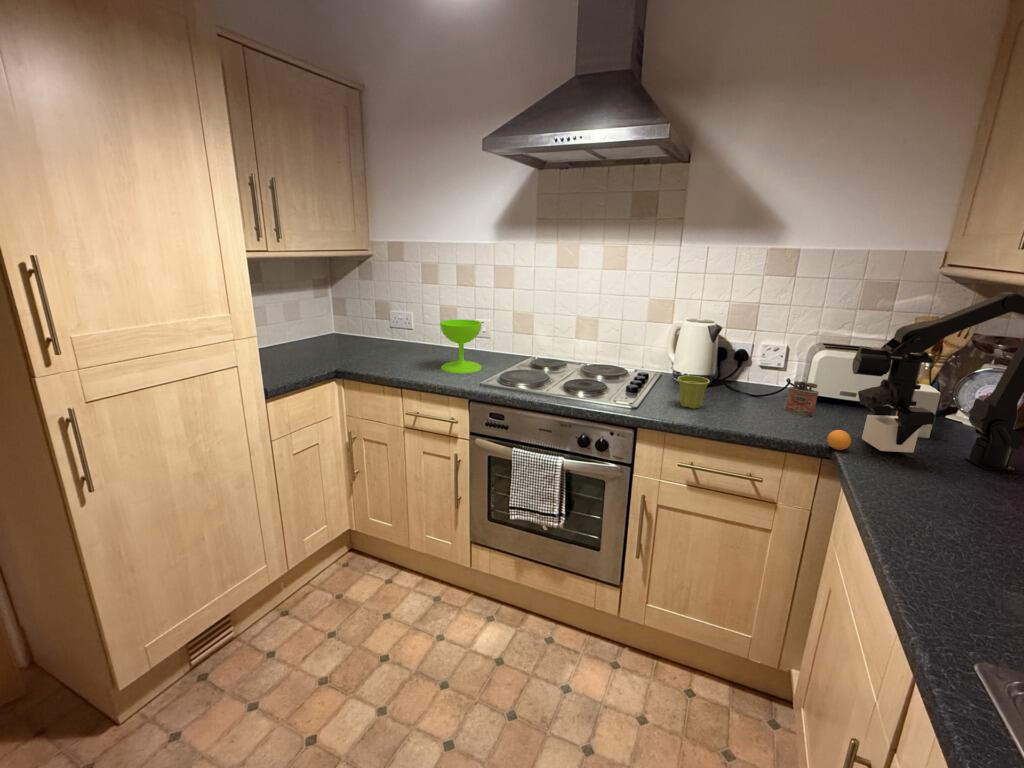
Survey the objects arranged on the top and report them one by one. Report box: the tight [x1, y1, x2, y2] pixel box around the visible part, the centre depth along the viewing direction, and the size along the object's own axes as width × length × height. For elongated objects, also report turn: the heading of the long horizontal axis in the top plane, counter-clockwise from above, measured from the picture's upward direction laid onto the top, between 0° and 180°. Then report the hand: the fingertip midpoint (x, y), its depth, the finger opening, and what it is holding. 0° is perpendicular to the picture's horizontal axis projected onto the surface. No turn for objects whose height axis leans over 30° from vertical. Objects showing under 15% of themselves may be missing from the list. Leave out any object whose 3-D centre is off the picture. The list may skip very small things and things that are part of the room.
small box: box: [894, 383, 941, 439], centre depth 139 cm, size 8×6×13 cm
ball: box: [826, 429, 852, 451], centre depth 127 cm, size 5×5×5 cm
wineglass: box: [439, 318, 483, 374], centre depth 197 cm, size 16×16×18 cm
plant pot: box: [677, 375, 711, 409], centre depth 158 cm, size 9×9×9 cm
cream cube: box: [861, 414, 920, 453], centre depth 126 cm, size 8×8×7 cm
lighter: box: [784, 380, 820, 417], centre depth 153 cm, size 8×3×10 cm, turn 47°
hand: (887, 438), depth 126 cm, fingers closed on cream cube, 8 cm apart
